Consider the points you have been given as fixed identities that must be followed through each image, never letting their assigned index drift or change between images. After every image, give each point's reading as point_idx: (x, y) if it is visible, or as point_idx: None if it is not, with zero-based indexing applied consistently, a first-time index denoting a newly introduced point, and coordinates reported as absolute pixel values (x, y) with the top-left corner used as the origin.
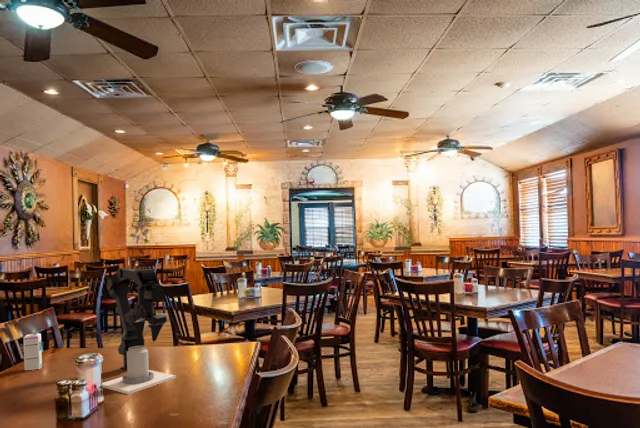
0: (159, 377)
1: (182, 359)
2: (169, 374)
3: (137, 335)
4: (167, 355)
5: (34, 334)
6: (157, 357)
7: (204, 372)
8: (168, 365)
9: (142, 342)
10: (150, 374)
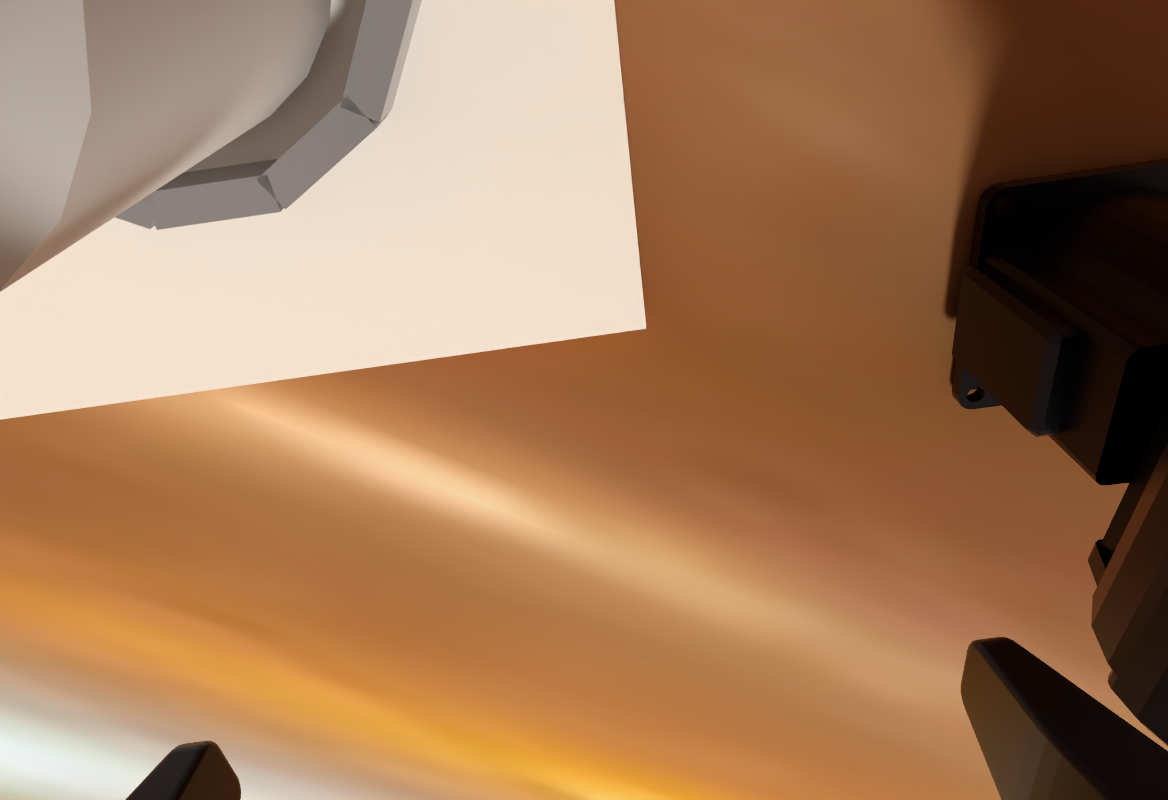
0: None
1: (747, 743)
2: (101, 398)
3: (1116, 739)
4: None
5: None
6: None
7: (39, 670)
8: (673, 587)
9: (1121, 666)
10: (169, 183)
